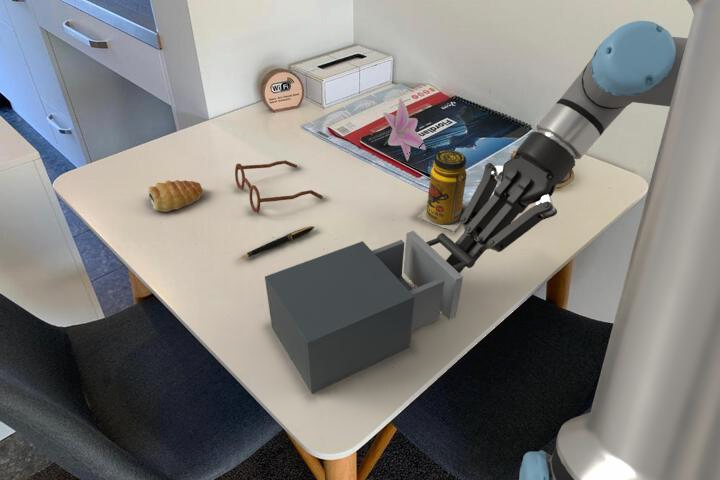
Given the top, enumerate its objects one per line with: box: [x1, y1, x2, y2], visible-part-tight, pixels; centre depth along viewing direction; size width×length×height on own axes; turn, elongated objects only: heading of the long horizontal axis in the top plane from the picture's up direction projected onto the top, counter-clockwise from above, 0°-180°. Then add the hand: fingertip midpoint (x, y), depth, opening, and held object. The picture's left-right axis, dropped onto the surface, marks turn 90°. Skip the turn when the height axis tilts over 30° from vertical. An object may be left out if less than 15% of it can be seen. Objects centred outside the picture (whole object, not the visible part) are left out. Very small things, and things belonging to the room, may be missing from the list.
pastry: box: [147, 179, 204, 213], centre depth 95 cm, size 9×7×4 cm
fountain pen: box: [239, 225, 315, 259], centre depth 86 cm, size 14×1×2 cm, turn 127°
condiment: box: [417, 149, 468, 232], centre depth 90 cm, size 7×8×12 cm
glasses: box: [234, 160, 324, 213], centre depth 98 cm, size 13×13×5 cm
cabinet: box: [264, 240, 415, 395], centre depth 68 cm, size 15×13×10 cm
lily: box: [383, 97, 426, 162], centre depth 110 cm, size 12×12×10 cm
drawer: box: [371, 230, 476, 333], centre depth 73 cm, size 18×11×8 cm, turn 120°
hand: (446, 274), depth 76 cm, fingers closed
